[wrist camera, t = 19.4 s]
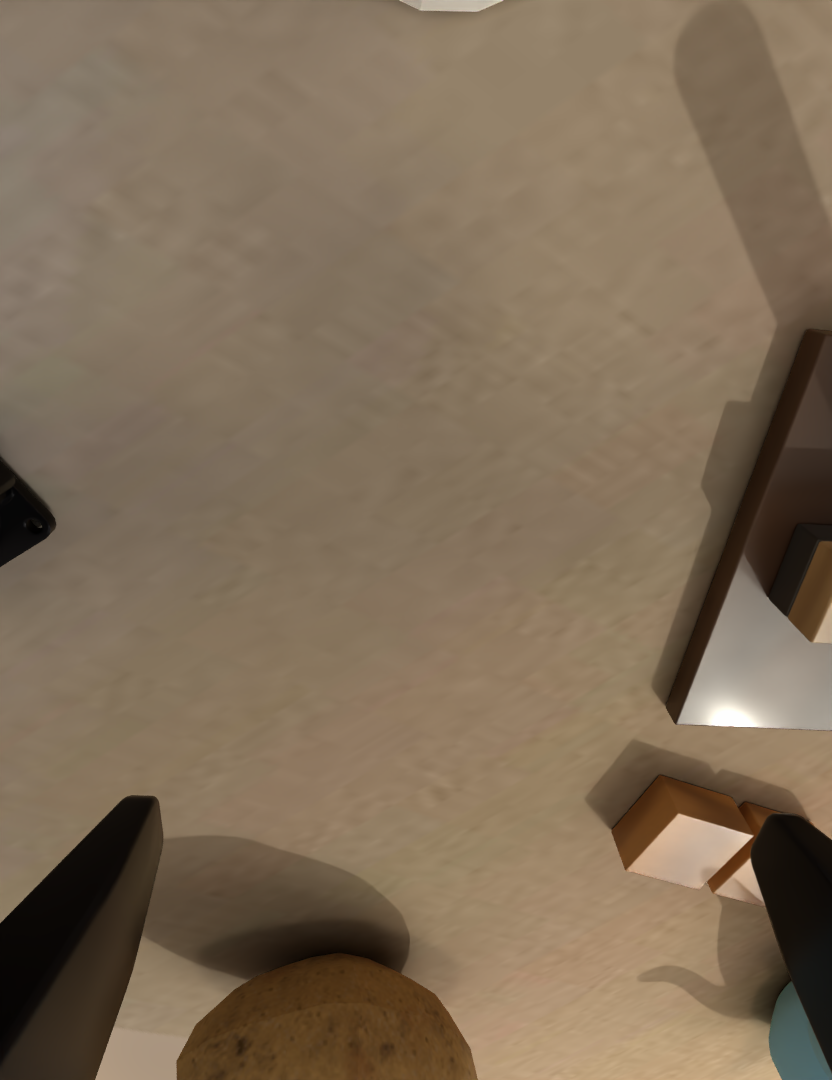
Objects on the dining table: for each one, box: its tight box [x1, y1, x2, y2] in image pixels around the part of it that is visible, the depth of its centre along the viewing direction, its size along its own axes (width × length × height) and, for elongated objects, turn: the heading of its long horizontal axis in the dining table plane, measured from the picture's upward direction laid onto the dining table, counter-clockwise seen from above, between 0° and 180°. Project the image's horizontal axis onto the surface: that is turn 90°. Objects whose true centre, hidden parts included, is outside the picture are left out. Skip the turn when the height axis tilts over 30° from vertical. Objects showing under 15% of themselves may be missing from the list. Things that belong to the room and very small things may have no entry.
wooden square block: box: [707, 802, 814, 907], centre depth 29 cm, size 4×4×2 cm
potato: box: [177, 953, 478, 1080], centre depth 30 cm, size 10×14×8 cm
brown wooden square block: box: [612, 775, 754, 890], centre depth 28 cm, size 4×4×2 cm
